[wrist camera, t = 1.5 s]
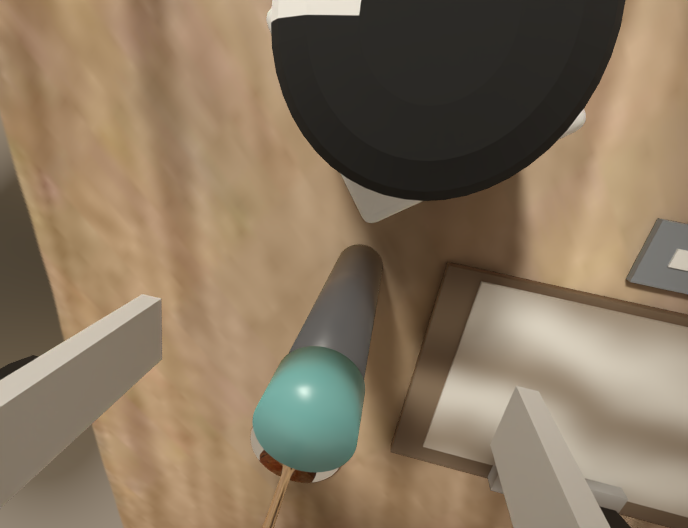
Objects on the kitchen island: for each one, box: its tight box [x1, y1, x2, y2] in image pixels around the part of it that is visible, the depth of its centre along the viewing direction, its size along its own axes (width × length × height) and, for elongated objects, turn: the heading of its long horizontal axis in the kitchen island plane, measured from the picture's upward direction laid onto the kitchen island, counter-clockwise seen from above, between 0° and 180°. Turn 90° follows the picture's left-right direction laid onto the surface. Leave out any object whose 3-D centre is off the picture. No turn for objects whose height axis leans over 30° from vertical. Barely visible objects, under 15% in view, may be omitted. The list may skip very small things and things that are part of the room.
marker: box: [253, 245, 383, 472], centre depth 16 cm, size 3×3×13 cm
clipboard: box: [391, 262, 688, 528], centre depth 22 cm, size 15×22×2 cm
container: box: [266, 0, 625, 223], centre depth 12 cm, size 8×8×13 cm
